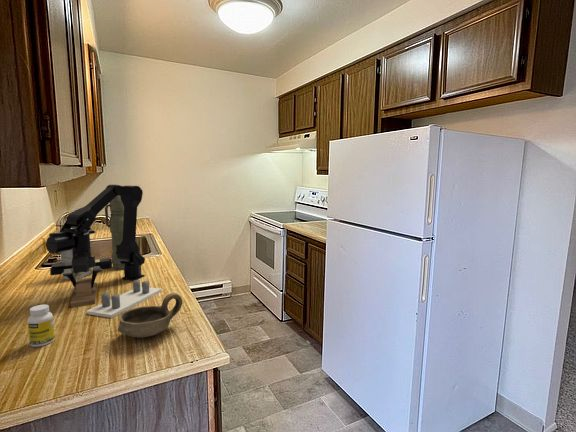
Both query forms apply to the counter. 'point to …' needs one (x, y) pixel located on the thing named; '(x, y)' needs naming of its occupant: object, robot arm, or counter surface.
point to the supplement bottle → (40, 326)
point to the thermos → (116, 228)
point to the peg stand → (123, 300)
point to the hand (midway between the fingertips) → (84, 288)
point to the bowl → (149, 318)
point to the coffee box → (67, 259)
